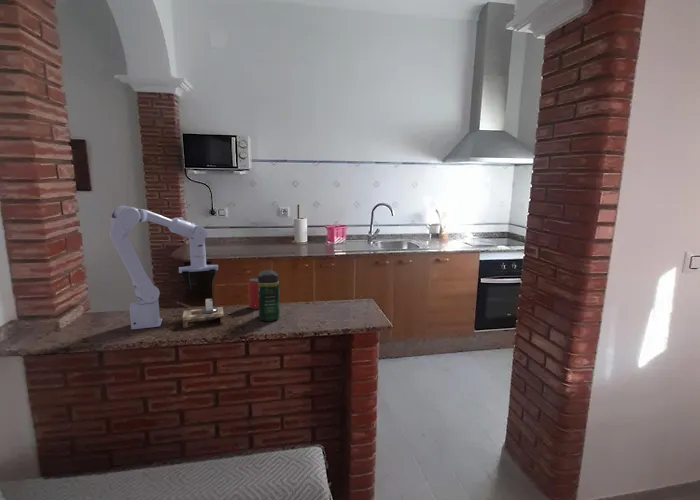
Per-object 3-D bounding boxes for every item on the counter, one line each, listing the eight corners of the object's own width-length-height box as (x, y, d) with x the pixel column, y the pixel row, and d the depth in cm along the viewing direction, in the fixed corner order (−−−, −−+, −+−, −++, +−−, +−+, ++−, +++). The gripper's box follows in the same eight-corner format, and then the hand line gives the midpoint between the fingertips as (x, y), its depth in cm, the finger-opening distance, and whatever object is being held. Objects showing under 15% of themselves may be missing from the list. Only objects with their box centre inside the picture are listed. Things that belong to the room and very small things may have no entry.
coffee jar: (280, 321, 149) (279, 273, 145) (259, 322, 147) (257, 274, 143) (278, 312, 158) (277, 268, 155) (258, 314, 156) (256, 269, 153)
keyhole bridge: (183, 328, 141) (182, 317, 140) (184, 320, 148) (183, 310, 148) (223, 323, 146) (223, 313, 145) (223, 316, 153) (222, 306, 152)
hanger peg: (201, 322, 144) (200, 303, 142) (201, 316, 149) (200, 298, 148) (218, 320, 146) (217, 301, 144) (218, 315, 151) (217, 297, 150)
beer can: (246, 306, 166) (245, 279, 164) (261, 303, 170) (260, 276, 168) (252, 310, 161) (251, 282, 158) (267, 307, 164) (266, 279, 162)
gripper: (177, 258, 148) (179, 293, 150) (217, 256, 152) (219, 289, 155) (178, 255, 154) (181, 288, 156) (217, 253, 159) (219, 285, 161)
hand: (200, 288), depth 156 cm, fingers open, 7 cm apart
